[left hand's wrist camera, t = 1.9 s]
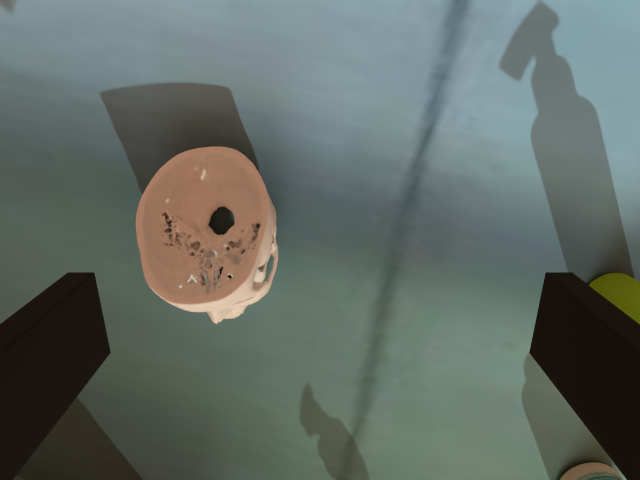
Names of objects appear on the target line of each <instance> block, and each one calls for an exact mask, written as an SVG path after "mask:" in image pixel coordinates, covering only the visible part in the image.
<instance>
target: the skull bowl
mask: <svg viewBox="0 0 640 480" xmlns="http://www.w3.org/2000/svg"><path fill="white" fill-rule="evenodd" d="M219 207H226V208H227V209H229V210H230V211H231V212H232V213H233V215H234V220H235V223H234V225H233V226H232V227H231V228H230V229H229V230H228V231H227V233H226V234H224V235H217V234H215V233H214V231H213V230H212V229H211V228H210V226H209V225H208V224H209V222H210V220H211V216H212V214H213V212H214V211H216V210H217V209H218V208H219ZM181 219H182V220H181ZM257 223H258V225H257ZM160 226H162V227H160ZM164 230H165V232H166V233H165V232H164ZM136 234H137V241H138V247H139V250H140V255H141V262H142V268H143V272H144V276H145V279H146V281H147V283H148V285H149V286H150V288H151V289H152V290H153V291H154V292H155V293H156V294H157V295H158V296H159V297H161V298H162V299H164V300H165V301H167V302H168V303H170V304H172V305H174V306H176V307H178V308H180V309H183V310H186V311H191V312H207V313H208V315H209V316H210V318H211V319H212V321H213V322H214V323H216V324H217V322H220V321H222V319H223V318H225V319H229V318H230V319H232V318H235V317H237V316H239V315H240V314H242V313H243V312H244V309H245V308H246V307H247V305H250V304H252V303H254V302H256V301H258V300H259V299H260V298H262V297H263V296H264V295H265V294H266V293H267V292H268V290H269V289H270V286H271V284H272V280H273V277H274V274H275V271H276V267H277V262H278V245H277V244H276V211H275V208H274V206H273V203H272V201H271V199H270V197H269V195H268V192H267V189H266V186H265V184H264V182H263V179H262V178H261V176H260V174H259V172H258V170H257V169H256V167H255V166H254V164H253V163H252V162H251V161H250V160H249V159H248V158H247V157H246V156H245V155H243V154H242V153H241V152H239V151H237V150H235V149H232V148H228V147H219V146H218V147H215V146H213V147H202V148H196V149H191V150H188V151H185V152H182V153H180V154H178V155H176V156H175V157H173V158H172V159H170V160H169V161H168V162H167V163H166V164H165V165H163V166H162V167H161V168H160V169H159V170H158V172H157V173H156V174H155V175H154V177H153V178H152V180H151V182H150V183H149V184H148V186H147V188H146V189H145V191H144V193H143V195H142V197H141V199H140V202H139V205H138V208H137V215H136ZM160 235H161V236H160ZM162 235H163V237H162ZM170 235H172V236H170ZM228 247H229V248H230V250H229V249H228ZM244 250H245V252H244V253H242V252H243V251H244ZM194 254H195V255H194ZM193 255H194V256H193ZM270 256H272V257H273V258H274V264H273V267H272V270H271V273H270V275H269V277H268V280H267V281H264V282H263V280H264V278H265V275H266V266H267V262H268V260H269V258H270ZM211 264H212V267H211ZM210 267H211V269H210ZM222 267H223V270H222V274H221V275H220V271H219V270H220V269H221V268H222ZM214 271H215V272H214ZM218 275H219V278H218ZM228 275H231V277H232V278H228ZM214 278H215V280H214ZM191 279H192V280H191ZM190 281H191V282H190Z"/></svg>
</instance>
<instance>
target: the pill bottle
mask: <svg viewBox="0 0 640 480" xmlns="http://www.w3.org/2000/svg"><path fill="white" fill-rule="evenodd" d="M560 480H623V479H622V478H621V476H620V475H619V474H618V473H617V472H616V471H615V470H614V469H613V468H611V467H610V466H608V465H606V464H602V463H596V462H590V463H584V464H580V465H577V466H575V467H573V468H571V469H570V470H568V471H567V472H566V473H565V474H564V475H563V476H562V477H561V479H560Z"/></svg>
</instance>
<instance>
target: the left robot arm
mask: <svg viewBox="0 0 640 480" xmlns="http://www.w3.org/2000/svg"><path fill="white" fill-rule="evenodd" d="M109 354H110V348H109V343H108V338H107V333H106V328H105V323H104V318H103V313H102V308H101V303H100V298H99V293H98V289H97V284H96V279H95V274H94V273H67V274H65V275H64V276H63V277H61V278H60V279H59V280H58V281H56V282H55V283H54V284H52V285H51V286H50V287H48V288H47V289H46V290H44V291H43V292H42V293H41V294H39V295H38V296H37V297H35V298H34V299H33V300H31V301H30V302H29V303H27V304H26V305H25V306H23V307H22V308H21V309H20V310H18V311H17V312H16V313H14V314H13V315H12V316H10V317H9V318H8V319H6V320H5V321H4V322H3V323H1V324H0V480H13V479H14V478H15V476H16V475H17V474H18V472H19V471H20V470H21V468H22V467H23V466H24V465H25V463H26V462H27V461H28V459H29V458H30V457H31V455H32V454H33V453H34V452H35V450H36V449H37V448H38V446H39V445H40V444H41V442H42V441H43V440H44V439H45V437H46V436H47V435H48V433H49V432H50V431H51V429H52V428H53V427H54V426H55V424H56V423H57V422H58V420H59V419H60V418H61V416H62V415H63V414H64V413H65V411H66V410H67V409H68V407H69V406H70V405H71V403H72V402H73V401H74V400H75V398H76V397H77V396H78V394H79V393H80V392H81V390H82V389H83V388H84V387H85V385H86V384H87V383H88V381H89V380H90V379H91V377H92V376H93V375H94V374H95V372H96V371H97V370H98V368H99V367H100V366H101V364H102V363H103V362H104V361H105V359H106V358H107V357H108V355H109ZM530 354H531V355H532V357H533V358H534V359H535V361H536V362H537V363H538V364H539V366H540V367H541V368H542V370H543V371H544V372H545V374H546V375H547V376H548V377H549V379H550V380H551V381H552V383H553V384H554V385H555V387H556V388H557V389H558V390H559V392H560V393H561V394H562V396H563V397H564V398H565V400H566V401H567V402H568V403H569V405H570V406H571V407H572V409H573V410H574V411H575V413H576V414H577V415H578V416H579V418H580V419H581V420H582V422H583V423H584V424H585V426H586V427H587V428H588V429H589V431H590V432H591V433H592V435H593V436H594V437H595V439H596V440H597V441H598V442H599V444H600V445H601V446H602V448H603V449H604V450H605V452H606V453H607V454H608V455H609V457H610V458H611V459H612V461H613V462H614V463H615V465H616V466H617V467H618V468H619V470H620V471H621V472H622V474H623V475H624V476H625V478H626V479H627V480H640V324H639V323H637V322H636V321H635V320H634V319H632V318H631V317H630V316H628V315H627V314H626V313H624V312H623V311H622V310H620V309H619V308H618V307H617V306H615V305H614V304H613V303H611V302H610V301H609V300H607V299H606V298H605V297H603V296H602V295H601V294H599V293H598V292H597V291H596V290H594V289H593V288H592V287H590V286H589V285H588V284H586V283H585V282H584V281H582V280H581V279H580V278H579V277H577V276H576V275H575V274H573V273H546V274H545V279H544V284H543V289H542V293H541V298H540V303H539V308H538V313H537V318H536V323H535V328H534V333H533V338H532V343H531V348H530Z"/></svg>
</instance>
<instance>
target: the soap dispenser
mask: <svg viewBox="0 0 640 480" xmlns="http://www.w3.org/2000/svg"><path fill="white" fill-rule="evenodd" d="M589 286H590V287H592V288H593V289H594V290H596V291H597V292H598V293H599V294H601V295H602V296H603V297H605V298H606V299H607V300H609V301H610V302H611V303H613V304H614V305H615V306H617V307H618V308H619V309H620V310H622V311H623V312H624V313H626V314H627V315H628V316H630V317H631V318H632V319H634V320H635V321H636V322H637V323H639V324H640V282H639V281H637V280H635V279H634V278H632V277H630V276H629V275H626V274H623V273H609V274H605V275H603V276H600V277H598V278H597V279H595V280H594V281H592V282H591V283H590V284H589Z"/></svg>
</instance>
